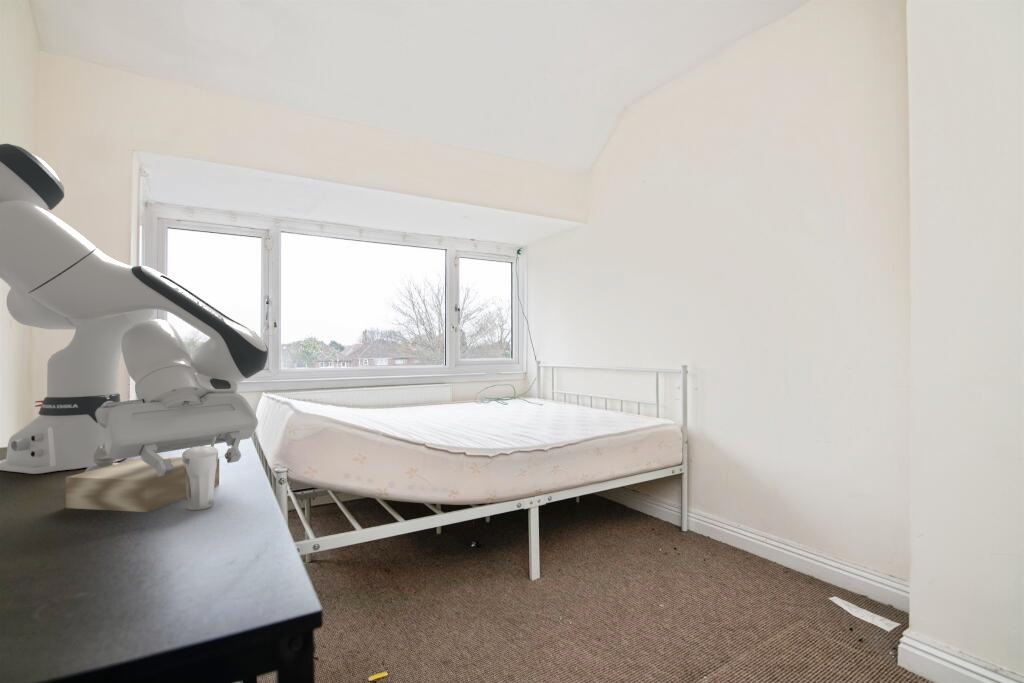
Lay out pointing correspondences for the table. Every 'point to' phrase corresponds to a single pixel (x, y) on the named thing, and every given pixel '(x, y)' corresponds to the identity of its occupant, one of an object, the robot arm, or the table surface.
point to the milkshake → (200, 475)
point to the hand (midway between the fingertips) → (202, 466)
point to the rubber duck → (101, 459)
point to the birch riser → (128, 487)
